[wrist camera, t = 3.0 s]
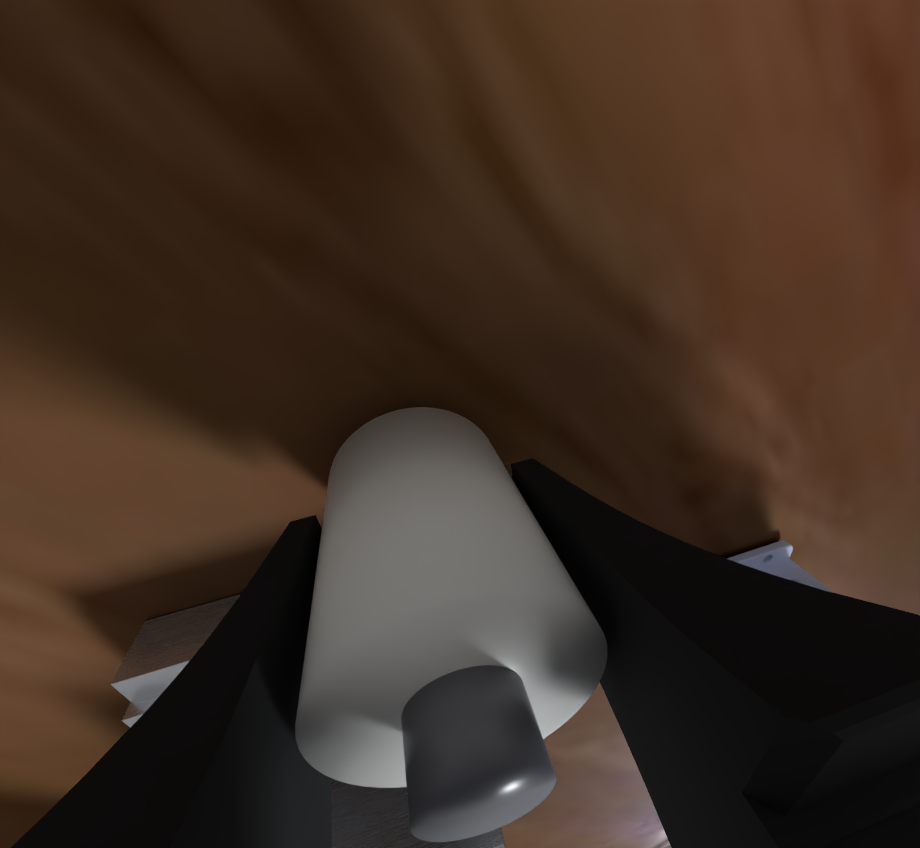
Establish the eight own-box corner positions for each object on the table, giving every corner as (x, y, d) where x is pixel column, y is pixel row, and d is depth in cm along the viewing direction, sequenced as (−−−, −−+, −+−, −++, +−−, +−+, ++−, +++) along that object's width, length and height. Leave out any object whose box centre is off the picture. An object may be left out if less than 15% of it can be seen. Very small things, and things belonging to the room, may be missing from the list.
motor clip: (286, 782, 19) (252, 1039, 13) (135, 623, 12) (-76, 998, 6) (516, 700, 21) (581, 895, 15) (492, 522, 14) (591, 744, 8)
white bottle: (488, 388, 10) (680, 634, 4) (504, 523, 13) (640, 805, 6) (302, 431, 10) (193, 802, 3) (356, 564, 12) (350, 923, 6)
